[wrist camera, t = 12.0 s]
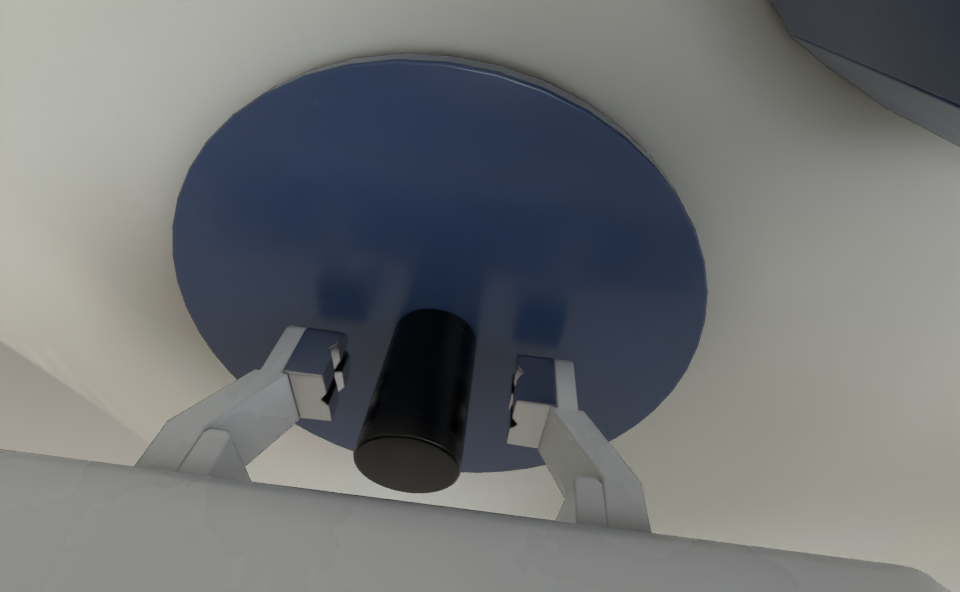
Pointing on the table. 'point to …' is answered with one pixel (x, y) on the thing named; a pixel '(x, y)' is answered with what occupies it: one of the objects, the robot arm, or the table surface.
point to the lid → (441, 255)
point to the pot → (889, 52)
